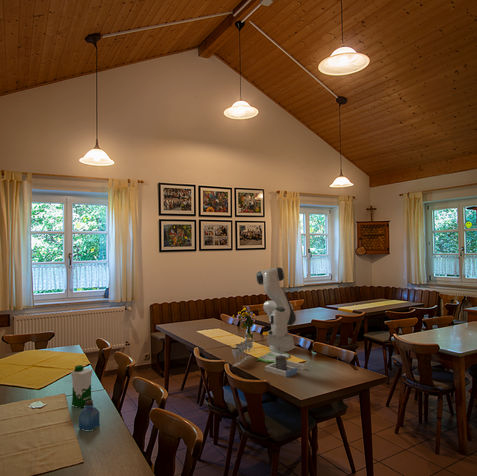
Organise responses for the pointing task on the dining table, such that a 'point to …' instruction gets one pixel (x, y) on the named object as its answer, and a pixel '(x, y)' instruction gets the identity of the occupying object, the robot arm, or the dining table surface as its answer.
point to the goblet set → (242, 350)
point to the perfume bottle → (89, 417)
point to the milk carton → (81, 386)
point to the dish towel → (271, 357)
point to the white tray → (290, 370)
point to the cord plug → (281, 362)
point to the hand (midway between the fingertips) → (280, 353)
